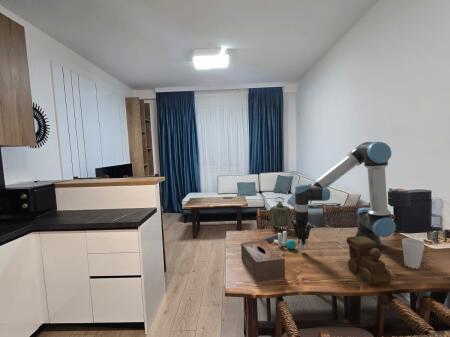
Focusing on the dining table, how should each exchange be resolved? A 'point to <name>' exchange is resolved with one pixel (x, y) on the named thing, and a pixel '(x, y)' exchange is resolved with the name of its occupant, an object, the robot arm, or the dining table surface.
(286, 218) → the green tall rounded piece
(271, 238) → the back wall
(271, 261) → the tissue box cover
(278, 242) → the pin
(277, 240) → the front pin
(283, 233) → the pin
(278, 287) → the dining table surface
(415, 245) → the foam cup
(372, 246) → the wooden toy train
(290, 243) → the ball
